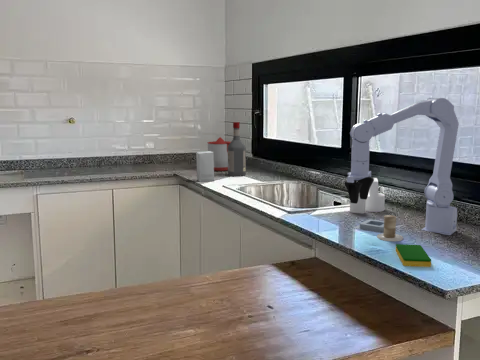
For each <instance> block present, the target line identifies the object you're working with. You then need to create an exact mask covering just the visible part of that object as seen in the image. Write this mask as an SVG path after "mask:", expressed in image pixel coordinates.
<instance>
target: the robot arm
mask: <svg viewBox="0 0 480 360" xmlns="http://www.w3.org/2000/svg"><path fill="white" fill-rule="evenodd" d="M418 115H419V116H426V117H427V118H429V119H431V120H433V122H435V124H436V125H437V126H438V127H439V135H438V139H437V140H438V141H437V147H436V152H435V153H436V154H435V159H434V165H433V171H432V172H433V173H432V175H431V177H429V180H428V184H427V185H426V186H425V187H424V196H425V198H426V199H427V200H426V207H425V208H426V209H425V224H424V225H425V226H424V227H423V228H421V230H420V231H422V232H423V231H424V232H429V233H438V234H440V235H444V236H452V235H453V234H454V233H455V232H457V222H458V208H457V207H455V206H452V205H451V203H452V202H453V200H454V197H455V196H454V191H453V182H452V179H451V171H452V168H453V160H454V155H455V150H456V143H457V136H458V132H459V131H458V130H459V120H458V118H457V115H456V111H455V106H454V104H453V103H452V102H451V101H450V100H448V99H447V98H445V97H440V98H437V97H429V98H426V99H423V100H420V101H416V102H414V103H412V104H410V105H408V106H406V107H404V108H402V109H399V110H398V111H395V112H393V113H391V114H389V113H386V112H383V113H382V112H379V113H377V114H376V116H374V117H372V118H369V119H364V120H363V123H360V122H359V123H356V124H354V125H352V127H351V129H350V132H349V135H350V137H351V139H352V141H351V154H350V155H351V157H350V158H351V160H350V172H347V177H346V180H345V181H344V187H346V188H345V189H346V191H347V192H348V198H349V203H350V202H351V203H355V204H357V202H358V198H359V193H360V199H365V200H366V199H367V197H368V193H369V190H370V187H371V185H372V183H373V181H374V178H375V177H372V170H370V150H371V149H370V141H371V140H372V137H373V138H374V137H377V136H379V135H381V134H383V133H386V132H388V131H390V130H392V129H393V127H394V125H395V124H397V123H400V122H403V121H405V120H408V119H410V118H413V117H415V116H418Z"/></svg>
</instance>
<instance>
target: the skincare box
mask: <svg viewBox="0 0 480 360" xmlns="http://www.w3.org/2000/svg"><path fill="white" fill-rule="evenodd" d="M195 154H196V155H195V156H196V158H195V159H196V179H197V181H198V182H199V183H204V182H214V181H215V171H214V160H213V152H211V151H208V150H206V151H196V152H195Z"/></svg>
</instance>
